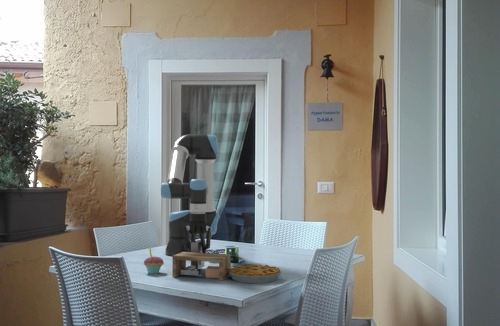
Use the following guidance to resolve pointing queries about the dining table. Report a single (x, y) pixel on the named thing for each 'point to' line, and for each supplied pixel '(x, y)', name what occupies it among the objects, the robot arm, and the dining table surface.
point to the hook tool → (194, 265)
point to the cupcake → (153, 264)
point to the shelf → (223, 260)
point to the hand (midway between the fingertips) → (197, 264)
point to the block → (212, 272)
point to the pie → (254, 273)
